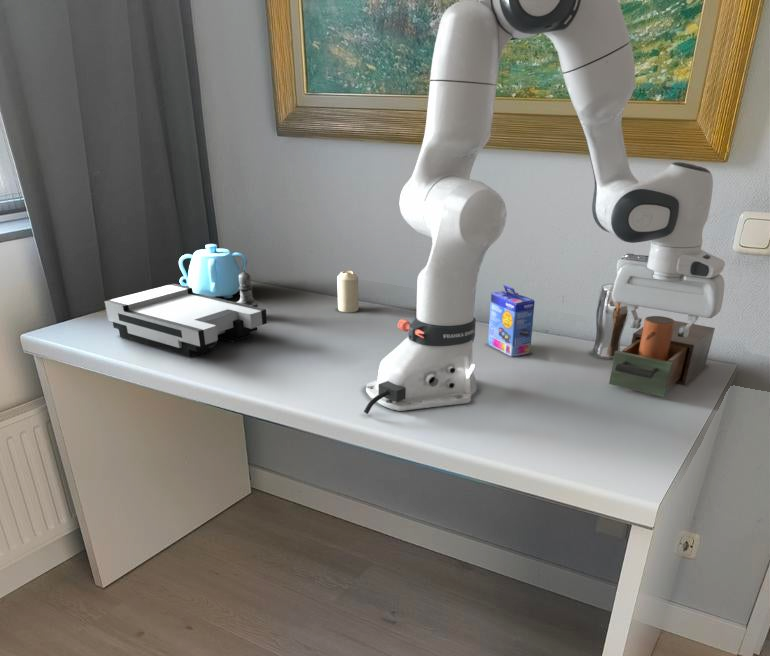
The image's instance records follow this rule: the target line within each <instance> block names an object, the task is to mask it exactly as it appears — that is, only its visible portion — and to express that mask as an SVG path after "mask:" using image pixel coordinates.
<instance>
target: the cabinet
mask: <svg viewBox="0 0 770 656" xmlns="http://www.w3.org/2000/svg"><path fill="white" fill-rule="evenodd" d="M674 321H675V325H674V329H673V334H672V338H671V343H670V344H673V345H678V346H683V347H688V348H690V349H689V353H688V357H687V362H686V366H685V370H684V374H683V376H682V377H681V378H680V379H679V380H678V381H676V382H675V383H674V384H679V385H683V386H685V385H686V384H687V383H689V381H691V380H692V379H693V378H694V377H695V376H696V375H697V374H699V372H700V371H701V370H703V368H705V367H706V366H707V365H706V364H707V361H708V357H709V353H710V349H711V345H712V341H713V337H714V333H715V331H716V330H715V329H716V328H715V327H711V326H706V325H700V324H696V323H694V324H693V325H692V326H691V327H690V329H689V334H688V336H687V337H686V338H684V337H679V336H678V333H679V328H680V327H681V326H686V325H687V324H688V323H689V322H685V321H684V322H683V321H680V320H674ZM642 331H643V326H642V327H640V328H638V330H636V331H635V332H633V334H632V338H631V343H630V345H631V344H632V343H633V342H635V341H636V340H638V339H639V338H641V336H642Z"/></svg>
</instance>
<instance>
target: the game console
mask: <svg viewBox="0 0 770 656" xmlns="http://www.w3.org/2000/svg"><path fill="white" fill-rule="evenodd" d="M236 302H237V301H231V300H227V299H223V298H220V297H210V296H206V295H201V294H197V293H194V292H193V290H192V287H189V286H183V285H181V284H178V283H171V284H166V285H163V286H159V287H155V288H151V289H147V290H143V291H139V292H136V293H132V294H128V295H124V296H120V297H116V298H112V299H108V300H105V301H104V304H105V305H104V306H105V311H106V315H107V316H106V317H107V320H108V322H112V327H113V329H117V330H118V333H119V337H121V338H123V339H127V340H130V341H133V342H137V343H140V344H144V345H147V346H151V347H153V348H158V349H161V350H165V351H168V352H171V353H173V354H177V355H181V356H184V357H187V358H192V357H194V356H197V355H199V354H203V353H206V352H209V351H210V350H211V347H214V346H217V342H218V341H219V339H220V340H223V341H228V342H232V343H234V342H237V341H239V340H242V339H245V338H248V337H250V336H251V337H252V334H251V333H254V332H257V331H258V327H261V326H264V325H266V324H268V318H267V317H268V316H267V309H266V308H263V307H254V306H249V305H245V304H241V303H236Z"/></svg>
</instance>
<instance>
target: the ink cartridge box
mask: <svg viewBox="0 0 770 656" xmlns="http://www.w3.org/2000/svg"><path fill="white" fill-rule="evenodd" d="M503 288H504V290H502V291H494V292H491V293H490V295H491V296H490V307H489V322H488V323H489V324H488V335H487V337H488V339H487V345H488V346H490V347H492V348H494V349H496V350H498V351H499V352H501V353H504V354H505V355H507V356H508V357H512V358H513V357H517V356H523V355H530V354H531V349H532V348H531V347H532V337H533V336H532V335H533V327H534V325H533V323H534V313H535V302H536V301H535V300H534V299H533V298H530V297H528V296H525V295H521V294H519V293H518V292H516V291H515V288H514V287H511V286H508V285H505V284H503Z"/></svg>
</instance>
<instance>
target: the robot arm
mask: <svg viewBox="0 0 770 656" xmlns="http://www.w3.org/2000/svg"><path fill="white" fill-rule="evenodd" d="M539 34H543V35H545V36H546V37H547V38H548V39H549V40H550V41H551V43H552V45H553V46H554V48H555V51H556V52H557V56H558V60H559V61H558V62H559V64H560V68H561V72H562V76H563V80H564V83H565V87H566V89H567V92H568V96H569V98H570V101H571V103H572V106H573V108H574V110H575V113H576V115H577V118H578V120H579V122H580V125H581V127H582V130H583V133H584V137H585V141H586V145H587V150H588V151H587V152H588V156H589V160H590V164H591V168H592V174H593V179H594V180H593V181H594V189H593V196H592V197H593V198H592V204H591V211H592V217H593V219H594V222H595V224H596V225H597V226H598V227H599V228H600V229H601V230H602V231H604V232H606V233H609V234H611V235H612V236H614V237H615V238H617V239H618V240H620V241H622V242H625V243H629V244H637V243H643V242H650V241H651V242H650V247H649V252H648V255H645V254H644V255H643V254H635V253H626V254H625V255H623V256H621V257H619V259H618V260H617V264H616V277H615V279H614V280H615V281H614V282H613V284H614V287H613V291H612V298H613V300H614V302H616V303H622V304H628V313H629V315H628V316H629V317H630V320H631V321H630V326H629V327H630V328H631V329H636V330H637V329H638V330H639V329H641V325H642V320H643V318H642V317H639V315H638V313H637V309H639V307H640V308H647V309H653V310H658V311H663V312H670V313H675V314H676V313H677V314H682V315H687V321H689V322H687V323H688V324H687V325H686V326H681V327H680V328H679V333H678V336H679V337H684V338H686V337H687V336H688V334H689V329H690V327H691V326H692V325H693V324H696V322H697V321H698V320H699V318H700V317H701V318H704V319H705V318H706V319H712V318H714V317H716V316H717V315H718V314H720V312H721V310H722V306H723V301H724V293H725V279H724V277H723V275H721V273H722V272H723V271H724V269H725V263H726V262H725V261H724V260H723V259H722V258H720V257H717V256H716V255H713V254H711V253H710V252H707V251H705V250H703V249H702V245H703V230H704V227H705V225H706V223H707V221H708V218H709V213H710V208H711V203H712V197H713V187H714V178H713V174H712V172H711V171H710V170H709V169H708V168H705V167H703V166H700V165H696V164H692V163H687V162H681V161H674V162H671V163H670V164H669V165H668V166H667V167H666V168H664V169H662V170H661V171H659V172H658V173H656V174H654V175H652V176H651V177H648V178H646V179H642V180H640V181H639V180H638V179H637V178H636V176H634V174H633V172H632V171H631V169H630V168H631V167H630V164H629V159H628V153H627V150H626V142H625V140H624V135H623V134H624V133H623V126H622V124H623V123H622V121H623V115H624V111H625V108H626V106H627V105H628V103H629V101H630V100H631V97H632V96H633V94H634V91H635V88H636V66H635V65H636V64H635V57H634V52H633V47H632V42H631V37H630V33H629V29H628V26H627V23H626V20H625V17H624V13H623V10H622V7H621V5H620V2H619V0H461V1H457V2H455V3H453V4H451V5H450V6H449V7H447V8H446V9H445V11H444V12H443V14H442V16H441V18H440V21H439V25H438V30H437V32H436V38H435V42H434V43H435V44H434V48H433V53H432V59H431V65H430V66H431V67H430V77H429V88H428V99H427V107H426V108H427V110H426V119H425V127H424V134H423V139H422V143H421V146H420V150H419V154H418V158H417V160H416V164H415V167H414V169H413V172H412V174H411V176H410V178H409V179H408V180H407V182H406V183H405V184H403V185H404V186H403V187H402V189H401V191H400V195H399V201H398V202H399V205H398V206H399V211H400V214H401V217H402V218H403V220H404V221H405V222H406V223H407V224H408V225H409V226H410V227H411V228H412V229H414V231H416V233H418V234H420V235H422V236H424V237H425V236H426V237H427V238H431V249H430V253H429V257H428V260H427V263H426V265H425V267H423V268H422V269H421V271H420V272H419V273H418V274H417V275H418V276H417V278H416V279H417V281H416V315H415V316H414V317H413V320H412V322H410V321H408V320H406V319H404V318H402V319H400V320H399V321H398V322H397V328H398V329H399V330H401V331H403V332H407V337H406V338H404V340H402V341H401V342H400V343H399V344H398V345H397V346H396V347H395V348H393V350H392V351H390V352H389V353H388V354H387V355H385V356H384V357H383V358H382V360H380V362H379V366H378V371H377V378H376V380H372V381H369V382H367V383H366V387H365V391H366V393H367V395H368V396H369V397H370V398H371V400H370V401H369V402H368V403H367V405H366V407H365V408H364V410H363V412H364V413H365V414H367V415H369V413H370V411H371V409H372V407H373V406H374V405H375V404H376V403H377V404H379V405H381V406H382V407H385V408H386V409H390V410H394V411H398V412H401V411H402V412H403V411H410V410H419V409H429V408H437V407H445V406H453V405H461V404H469V403H471V401H472V396H473V395H474V394H475V393H476V392H477V390H478V385H477V382H476V381H477V380H476V375H475V371H474V370H475V364H474V349H473V348H474V344H473V343H474V341H475V338H476V317H475V307H476V294H477V286H478V285H477V284H478V279H479V273H480V270H481V267H482V264H483V262H484V259H485V256H486V255H487V252H488V251H489V248H490V247H491V246H492V245H494V243H496V241H498V239H499V238H500V237H501V235H502V233H503V231H504V229H505V227H506V224H507V223H506V222H507V215H508V214H507V206H506V203H505V200H504V199H503V197H502V196H501V194H500V193H498V192H497V191H496V190H495V189H494V188H492V187H490V186H489V185H487V184H486V183H484V182H482V181H479V180H475V179H470V177H471V172H472V169H473V166H474V164H475V161H476V159H477V156H478V154H479V153H480V151H481V150H482V149H483V148H484V147H485V146H486V145H487V144H488V142H489V140H490V138H491V135H492V127H493V120H494V112H495V111H494V110H495V104H496V103H495V102H496V95H497V85H498V78H499V64H500V62H501V58H502V55H503V52H504V50H505V47H506V45H507V44H508V42H509V41H514V40H515V41H516V40H520V39H528V38H529V39H530V38H532V37H534V36H537V35H539Z"/></svg>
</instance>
